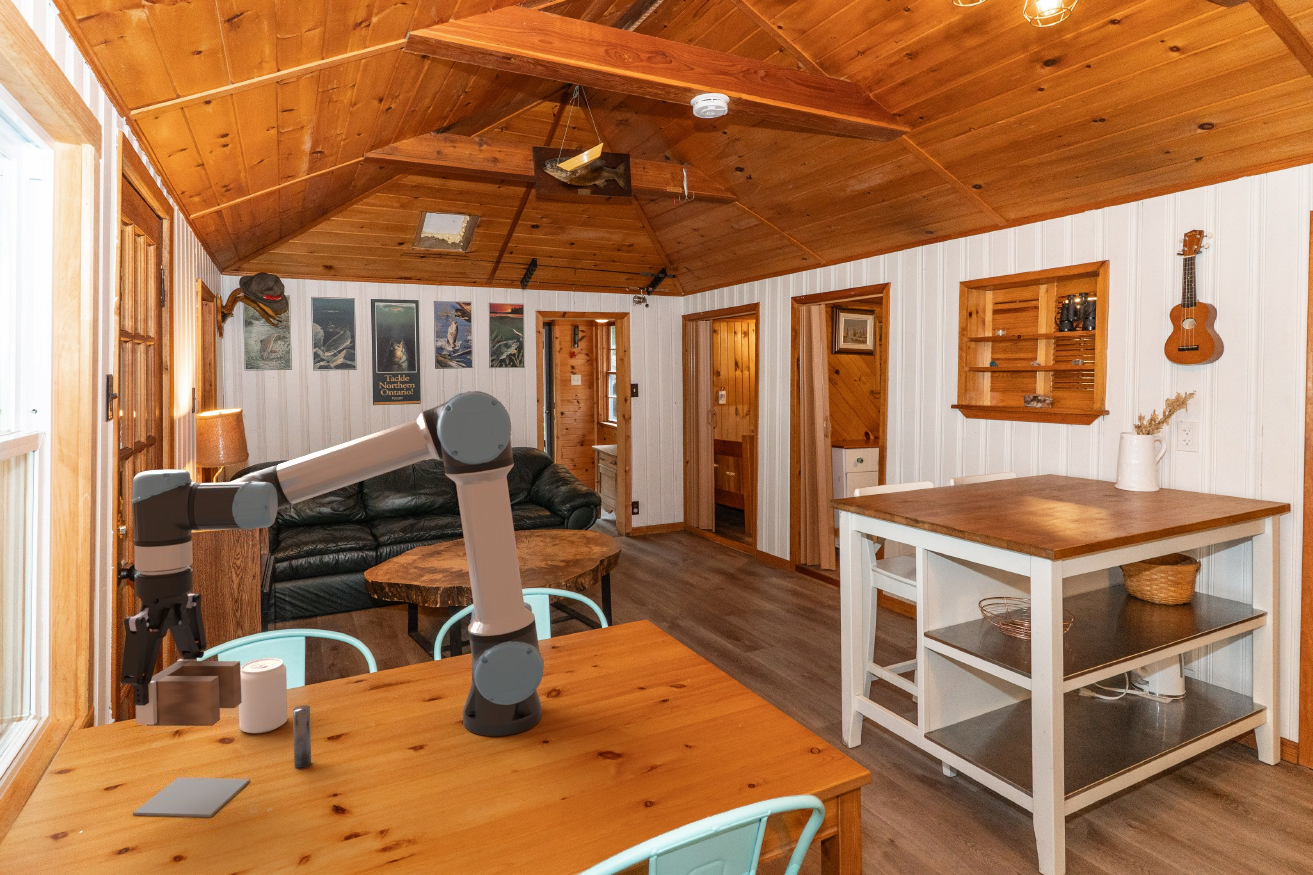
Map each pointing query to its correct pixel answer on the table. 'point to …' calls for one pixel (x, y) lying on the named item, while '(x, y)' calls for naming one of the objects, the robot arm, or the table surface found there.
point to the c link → (196, 692)
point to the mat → (192, 797)
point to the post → (302, 737)
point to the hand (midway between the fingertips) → (167, 710)
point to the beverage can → (263, 695)
